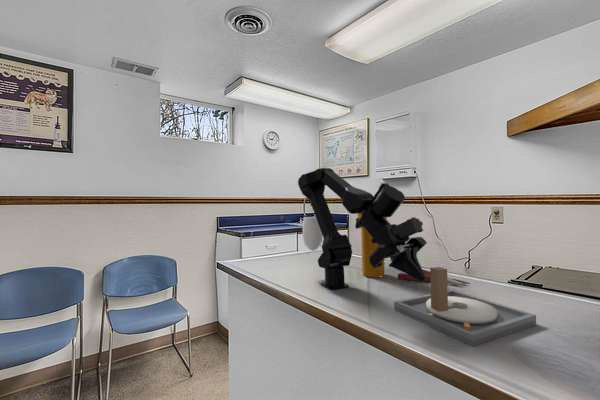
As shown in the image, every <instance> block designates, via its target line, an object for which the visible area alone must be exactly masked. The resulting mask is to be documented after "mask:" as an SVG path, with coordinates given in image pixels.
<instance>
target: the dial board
mask: <svg viewBox="0 0 600 400" xmlns="http://www.w3.org/2000/svg"><path fill="white" fill-rule="evenodd" d="M448 296H454V297H463V298H469V299H473V300H477V301H481V302H483V303H486V304H488V305H490V306H492V307H494V308H495V309H496V310H497V319H496V320H495V321H493V322H491V323H485V324H469V323H465V322H464V323H460V322H454V321H450V320H446V319H443V318H440V317H438V316H436V315H434V314H432V313H430V312H429V311H428V310H427V308H426V302H427V300H428V299H430V298H431V293H428V294H424V295H420V296H419V295H417V296H415V297H408V298H404V299H399V300H395V301H393V303H394V308H393V309H394V311H396V312H398V313H400V314H403V315H404V316H406V317H409V318H411V319H414V320H416V321H418V322H420V323H421V324H424V325H426V326H429V327H431V328H433V329H435V330H437V331H438V332H442V333H443V334H446V335H448V336H450V337H452V338H454V339H457V340H458V341H460V342H463V343H465V344H467V345H469V346H471V347H474V346H475V347H476V346H479V345H481V344H483V343H487V342H489V341H492V340H496V339H499V338H502V337H505V336H507V335H510V334H513V333H515V332H519V331H521V330H525V329H528V328H531V327H533V326H536V325H537V315H536V314H533V313H530V312H527V311H524V310H521V309H518V308H514V307H510V306H508V305H506V304H505V305H504V304H501V303H498V302H494V301H491V300H489V299H484V298H481V297H477V296H475V295H471V294H468V293H465V292H461V291H458V290H454V289H448Z"/></svg>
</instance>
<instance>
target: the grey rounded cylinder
mask: <svg viewBox="0 0 600 400" xmlns="http://www.w3.org/2000/svg"><path fill="white" fill-rule="evenodd" d="M302 238H303V242H304V245H305V247H306V248H307V249H308V250H310V251H315V250H316V251H317V250H318V248H319V247H321V246H322V245H321V244H322V243H323V235H322V232H321V229H320V227H319V224H318V221H317V219H316V216H304V217H303V220H302Z"/></svg>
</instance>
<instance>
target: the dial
mask: <svg viewBox="0 0 600 400" xmlns="http://www.w3.org/2000/svg"><path fill="white" fill-rule="evenodd" d="M429 270H430V271H429V272H430V281H431V283H430V294H431V298H430V299H428V300H427V302H426V308H427V310H428V311H429V312H430V313H432V314H434V315H436V316H438V317H440V318H443V319H446V320H450V321H454V322H460V323H464V322H465V323H469V324H485V323H491V322H493V321H495V320H496V319H497V310H496V309H495V308H494V307H492V306H490V305H488V304H486V303H483V302H481V301H477V300H473V299H469V298H463V297H454V296H448V290H449V289H448V284H447V277H448V269H447V268H444V267H440V266H435V267H430V268H429Z"/></svg>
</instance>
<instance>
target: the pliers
mask: <svg viewBox="0 0 600 400" xmlns="http://www.w3.org/2000/svg"><path fill="white" fill-rule="evenodd" d="M422 270H423V272H424V274H425V277H426V279H425V280H424V281H420V280H418V279H416V278H414V277H412V276H410V275H408V274H406V273H404V272H399V273H398V274H397V279H398V278H399V279H403V280H402V281H404V280H407V281H406V282H410V281H414V282H413V283H430V284H431V281H430V271H429V270H427V269H422ZM399 279H398V280H399ZM470 284H471V283H470V282H468V281H464V280H461V279H456V278H453V277H448V276H447V286H448V285H450V286H458V287H468V285H470Z"/></svg>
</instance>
